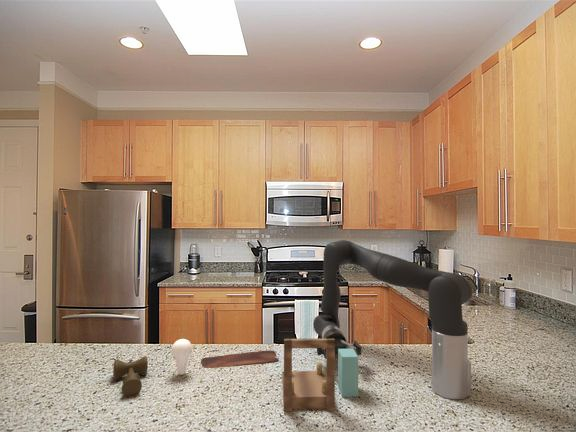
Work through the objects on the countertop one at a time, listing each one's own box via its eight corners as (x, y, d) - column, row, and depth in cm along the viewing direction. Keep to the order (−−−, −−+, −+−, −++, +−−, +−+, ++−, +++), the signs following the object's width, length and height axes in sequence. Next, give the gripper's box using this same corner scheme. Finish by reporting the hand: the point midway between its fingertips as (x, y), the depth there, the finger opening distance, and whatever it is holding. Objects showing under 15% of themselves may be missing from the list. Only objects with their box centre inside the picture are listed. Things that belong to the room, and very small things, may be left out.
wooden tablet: (200, 366, 111) (201, 351, 120) (200, 373, 111) (200, 357, 120) (280, 359, 116) (274, 346, 126) (279, 366, 117) (274, 351, 126)
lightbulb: (185, 368, 111) (186, 334, 111) (195, 374, 107) (195, 339, 107) (167, 374, 107) (168, 339, 107) (177, 381, 102) (177, 344, 103)
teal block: (353, 386, 100) (353, 348, 100) (358, 396, 94) (358, 356, 94) (338, 386, 100) (338, 348, 100) (342, 397, 94) (342, 357, 94)
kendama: (111, 403, 91) (113, 371, 109) (150, 396, 95) (145, 366, 113) (112, 381, 91) (114, 352, 109) (151, 374, 95) (146, 348, 113)
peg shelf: (325, 380, 103) (325, 321, 103) (334, 410, 87) (334, 340, 87) (282, 381, 102) (282, 321, 103) (283, 411, 86) (284, 340, 86)
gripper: (313, 328, 121) (319, 345, 105) (353, 328, 121) (365, 344, 105) (313, 349, 121) (319, 369, 105) (353, 349, 121) (365, 369, 105)
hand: (342, 357), depth 105 cm, fingers open, 8 cm apart
